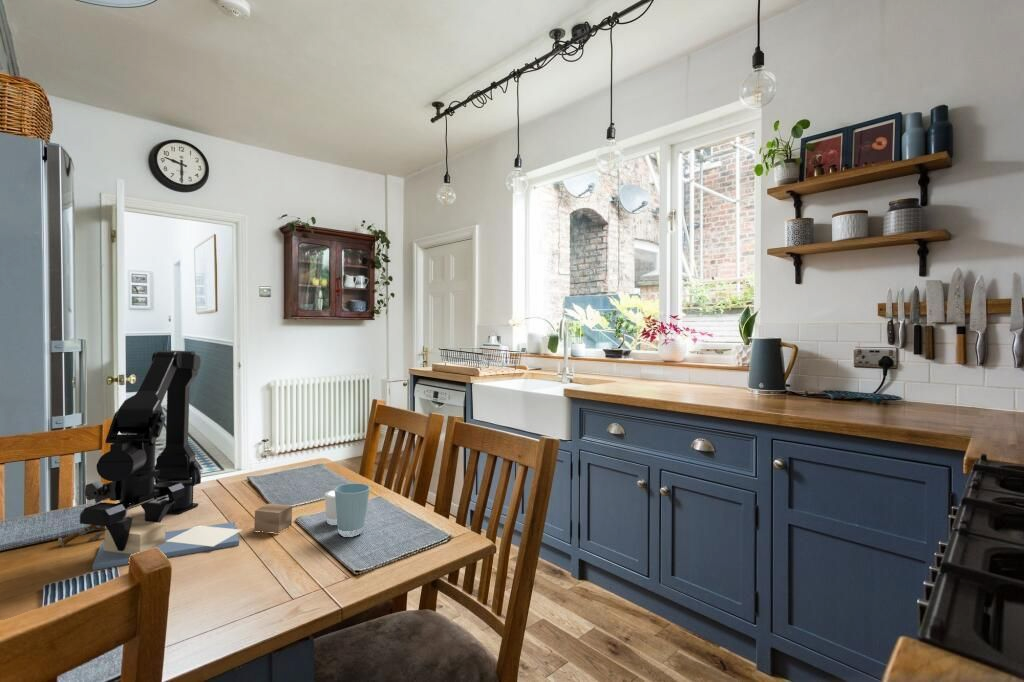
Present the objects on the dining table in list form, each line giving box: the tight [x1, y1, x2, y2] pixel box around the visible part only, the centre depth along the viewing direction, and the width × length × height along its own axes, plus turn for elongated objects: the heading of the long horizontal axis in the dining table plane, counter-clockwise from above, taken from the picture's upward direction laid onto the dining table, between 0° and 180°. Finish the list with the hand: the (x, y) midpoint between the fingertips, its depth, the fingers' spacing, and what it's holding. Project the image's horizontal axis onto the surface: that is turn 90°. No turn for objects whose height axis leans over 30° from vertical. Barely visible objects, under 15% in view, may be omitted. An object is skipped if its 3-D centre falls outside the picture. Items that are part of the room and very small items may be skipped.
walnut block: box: [253, 502, 293, 534], centre depth 116 cm, size 5×6×5 cm
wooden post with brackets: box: [58, 525, 108, 548], centre depth 106 cm, size 2×8×4 cm, turn 131°
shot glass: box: [324, 489, 337, 519], centre depth 122 cm, size 7×7×7 cm
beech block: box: [103, 519, 167, 554], centre depth 102 cm, size 6×8×4 cm
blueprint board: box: [92, 521, 243, 571], centre depth 105 cm, size 25×14×1 cm, turn 123°
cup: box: [334, 482, 371, 531], centre depth 115 cm, size 8×8×10 cm
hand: (135, 544), depth 102 cm, fingers closed on beech block, 6 cm apart
